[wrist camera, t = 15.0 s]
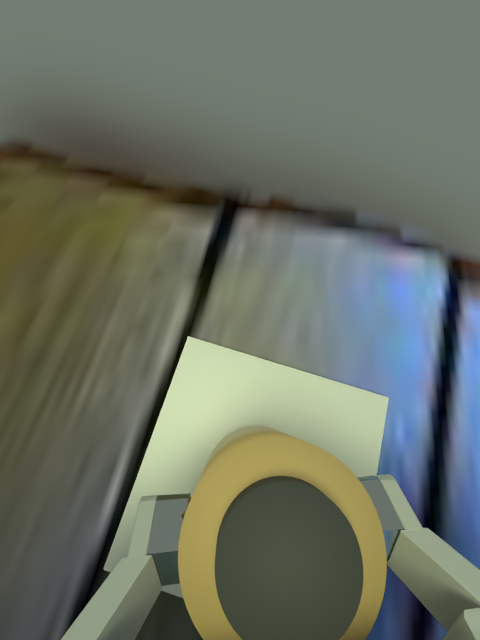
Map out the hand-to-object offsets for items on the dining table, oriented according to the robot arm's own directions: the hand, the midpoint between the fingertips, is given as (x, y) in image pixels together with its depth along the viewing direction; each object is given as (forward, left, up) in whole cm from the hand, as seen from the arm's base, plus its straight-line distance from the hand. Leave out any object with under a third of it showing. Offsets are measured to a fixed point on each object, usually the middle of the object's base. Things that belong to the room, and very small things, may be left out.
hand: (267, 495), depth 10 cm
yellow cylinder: (0, 0, -5) cm, 5 cm away
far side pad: (0, -1, -7) cm, 7 cm away
